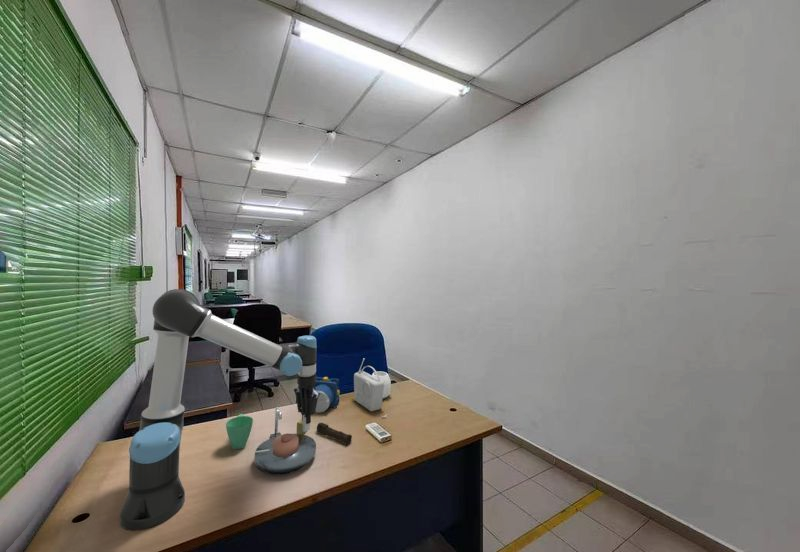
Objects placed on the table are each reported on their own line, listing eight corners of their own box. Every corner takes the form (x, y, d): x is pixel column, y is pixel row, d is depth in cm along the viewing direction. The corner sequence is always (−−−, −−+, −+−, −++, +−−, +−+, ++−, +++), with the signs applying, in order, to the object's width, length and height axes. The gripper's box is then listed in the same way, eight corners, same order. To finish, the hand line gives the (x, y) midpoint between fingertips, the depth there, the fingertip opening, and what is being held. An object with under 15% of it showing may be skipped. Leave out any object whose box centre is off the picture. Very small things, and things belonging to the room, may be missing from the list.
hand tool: (352, 443, 134) (352, 432, 134) (345, 447, 130) (346, 436, 130) (321, 429, 144) (321, 419, 144) (314, 432, 141) (315, 422, 141)
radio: (350, 399, 177) (351, 355, 177) (362, 396, 182) (364, 354, 182) (370, 414, 160) (372, 366, 160) (384, 410, 165) (385, 363, 165)
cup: (365, 399, 178) (366, 376, 178) (371, 391, 191) (372, 369, 191) (388, 402, 176) (389, 378, 176) (392, 393, 189) (393, 371, 189)
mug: (252, 449, 125) (253, 424, 125) (224, 455, 121) (225, 429, 121) (252, 432, 139) (252, 409, 139) (226, 436, 134) (227, 413, 134)
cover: (298, 455, 116) (298, 440, 116) (271, 459, 113) (272, 443, 113) (298, 442, 124) (298, 428, 124) (273, 445, 121) (274, 431, 121)
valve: (314, 400, 174) (313, 374, 172) (340, 402, 172) (340, 377, 170) (304, 413, 161) (303, 386, 159) (332, 416, 159) (331, 389, 157)
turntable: (317, 466, 113) (318, 447, 113) (250, 476, 106) (251, 456, 106) (314, 433, 136) (314, 417, 135) (258, 439, 129) (259, 422, 128)
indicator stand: (270, 436, 135) (271, 405, 135) (279, 434, 138) (280, 404, 137) (274, 447, 127) (275, 414, 127) (284, 445, 130) (285, 412, 129)
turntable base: (282, 481, 108) (282, 475, 108) (249, 463, 117) (249, 458, 117) (320, 455, 123) (320, 450, 123) (288, 441, 132) (289, 437, 132)
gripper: (324, 374, 129) (324, 430, 130) (303, 368, 136) (302, 422, 136) (310, 379, 123) (310, 439, 123) (288, 373, 129) (288, 430, 130)
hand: (306, 430), depth 130 cm, fingers closed
